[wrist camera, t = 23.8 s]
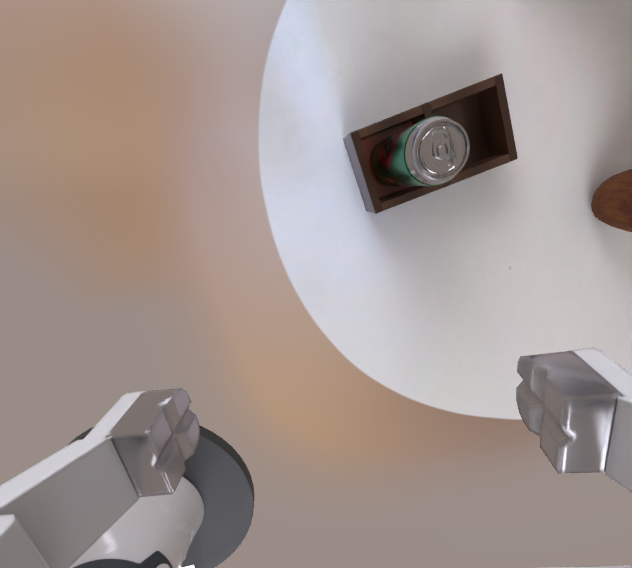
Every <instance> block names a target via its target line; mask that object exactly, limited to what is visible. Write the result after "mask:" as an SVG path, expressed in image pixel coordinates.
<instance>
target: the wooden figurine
mask: <svg viewBox="0 0 632 568" xmlns="http://www.w3.org/2000/svg"><path fill="white" fill-rule="evenodd" d="M592 211H593V213H594V215H595V217H597V218H598V219H599V220H601V221H602V222H604V223H606V224H608V225H610V226H613V227H616V228H619V229H622V230H625V231H630V232H632V169H631V170H628V171H625V172H622V173H619V174H616V175H614V176H612V177H610V178H609V179H607V180H606V181H605V182H603V183H602V184H601V185H600V187H599V188H598V189H597V190H596V192H595V194H594V196H593V200H592Z"/></svg>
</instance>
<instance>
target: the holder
mask: <svg viewBox="0 0 632 568" xmlns="http://www.w3.org/2000/svg"><path fill="white" fill-rule="evenodd" d="M433 116H444V117H447V118H450V119H452V120H454V121H455V122H457V123H459V124H460V125H461V126H462V127H463V128H464V129H465V131H466V133H467V135H468V138H469V144H470V149H469V155H468V159H467V161H466V163H465V165H464V167H463V168H462V169H461V170H460V171H459V173H458V174H457V175H456V176H455V177H454V178H453V179H451V180H450V181H448V182H446V183H444V184H441V185H437V186H387V185H385V184H383V183H381V182H380V181H379V180H378V179H377V178H376V177H375V175H374V173H373V170H372V165H371V160H372V155H373V152H374V150H375V148H376V147H377V145H378V144H379V143H380V142H381V141H382V140H384V139H386V138H387V137H390V136H392V135H394V134H396V133H398V132H400V131H402V130H404V129H406V128H408V127H410V126H412V125H414V124H416V123H418V122H420V121H422V120H424V119H426V118H429V117H433ZM343 140H344V143H345V146H346V149H347V152H348V155H349V158H350V162H351V165H352V168H353V171H354V174H355V177H356V180H357V183H358V186H359V190H360V193H361V196H362V199H363V202H364V205H365V208H366V211H368V212H372V213H375V214H376V213H379V212H381V211H384V210H386V209H389V208H392V207H394V206H397V205H399V204H402V203H405V202H407V201H410V200H412V199H415V198H417V197H420V196H423V195H425V194H428V193H430V192H433V191H436V190H438V189H441V188H443V187H446V186H448V185H451V184H454V183H456V182H459V181H461V180H464V179H466V178H469V177H472V176H474V175H477V174H479V173H482V172H485V171H487V170H490V169H492V168H495V167H497V166H500V165H503V164H505V163H508V162H510V161H513V160H515V159H517V152H516V147H515V141H514V136H513V130H512V125H511V120H510V114H509V109H508V103H507V98H506V92H505V87H504V81H503V76H502V74H499V75H497V76H494V77H492V78H489V79H486V80H484V81H481V82H479V83H476V84H474V85H471V86H469V87H466V88H463V89H461V90H458V91H456V92H453V93H451V94H448V95H446V96H443V97H441V98H438V99H435V100H433V101H430V102H428V103H425V104H423V105H420V106H418V107H415V108H412V109H410V110H407V111H405V112H402V113H400V114H397V115H395V116H392V117H389V118H387V119H384V120H382V121H379V122H377V123H374V124H372V125H369V126H367V127H364V128H361V129H359V130H356V131H354V132H351V133H350V134H348V135H347V136H346V137H345V138H344V139H343Z"/></svg>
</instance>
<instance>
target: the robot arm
mask: <svg viewBox="0 0 632 568" xmlns="http://www.w3.org/2000/svg"><path fill="white" fill-rule="evenodd" d="M517 372H518V373H519V375H520V376H521V377H522V379H523V381H522V382H521V383H520V384H519V386H518V387H517V388H516V400H517V405H518V409H519V413H520V415H521V417H522V420H523V422H524V423H525V425H526V426H527V428H528V429H529V431H531V432H533V433H535V434H536V435H538V436H540V437H541V438H540V448H541V449H542V450H543V452H544V453H545V455H546V456H547V458H548V459H549V461H550V462H551V464H552V465H553V467H554V468H555V470H556V471H557V472H558V473H591V472H605V475H607V476H608V477H610V478H611V479H612V480H614V481H615V482H617V483H618V484H620V485H621V486H623V487H624V488H626V489H627V490H629V491H630V492H632V374H631V373H629V372H628V371H627V370H625V369H624V368H623V367H622V366H620V365H619V364H618V363H616V362H615V361H614V360H612V359H611V358H610V357H608V356H607V355H606V354H605V353H603V352H602V351H601V350H599V349H595V348H586V349H578V350H570V351H566V352H557V353H548V354H538V355H529V356H520V358H519V361H518V367H517ZM190 403H191V399H190V397H189V395H188V392H187V391H186V390H184V389H182V388H179V389H167V390H152V391H140V392H130V393H128V394H125V395H123V396H122V397H121V398H120V399H119V401H118V402H117V403H116V404H115V405H114V406H113V407H112V408H111V409H110V410H109V412H108V413H107V414H106V415H105V416H104V417H103V418H102V419H101V420H100V421H99V423H98V424H97V425H96V426H95V427H94V428H93V429H92V430H91V431H90V432H89V434H88V435H87V436H86V437H85V438H84V439H82V440H76V441H75V442H73V443H71V444H70V445H68V446H66V447H65V448H63V449H61V450H60V451H58V452H56V453H55V454H53V455H51V456H50V457H48V458H46V459H44V460H43V461H41V462H39V463H38V464H36V465H34V466H33V467H31V468H29V469H28V470H26V471H24V472H23V473H21V474H19V475H18V476H16V477H14V478H13V479H11V480H9V481H8V482H6V483H4V484H3V485H1V486H0V568H181V565H182V563H183V561H184V559H185V557H186V555H187V552H188V549H189V547H190V544H191V542H192V540H193V538H194V536H195V534H196V533H197V531H198V529H199V527H200V525H201V523H202V521H203V517H204V504H203V500H202V497H201V495H200V493H199V492H198V490H197V489H196V488H195V487H194V485H193V484H192V483H190V482H189V481H188V480H187V479H185V478H184V477H182V476H183V474H184V472H185V470H186V468H185V464H184V461H185V460H187V459H188V458H189V457H190V456H191V455H193V454H194V452H195V449H196V447H197V445H198V441H199V435H200V427H199V421H198V418H197V416H196V414H194V413H193V412H192V411H191V410H189V409H188V408H189V406H190ZM184 568H194V565H192V566H188V567H184ZM541 568H542V567H541ZM545 568H632V566H631V565H629V566H588V567H587V566H586V567H585V566H584V567H545Z"/></svg>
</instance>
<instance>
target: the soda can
mask: <svg viewBox="0 0 632 568" xmlns="http://www.w3.org/2000/svg"><path fill="white" fill-rule="evenodd" d="M469 149H470V144H469V138H468V135H467V133H466V131H465V129H464V128H463V127H462V126H461V125H460V124H459V123H457V122H455V121H454V120H452V119H450V118H447V117H444V116H433V117H429V118H426V119H424V120H422V121H420V122H418V123H416V124H414V125H412V126H410V127H408V128H406V129H404V130H402V131H400V132H398V133H396V134H394V135H392V136H390V137H387V138H386V139H384V140H382V141H381V142H380V143H379V144H378V145H377V147H376V148H375V150H374V152H373V155H372V160H371V165H372V170H373V173H374V175H375V177H376V178H377V179H378V180H379V181H380V182H381V183H383V184H385V185H387V186H437V185H441V184H444V183H446V182H448V181H450V180H451V179H453V178H454V177H455V176H456V175H457V174H458V173H459V171H460V170H461V169H462V168H463V167H464V165H465V163H466V161H467V159H468V155H469Z"/></svg>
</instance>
